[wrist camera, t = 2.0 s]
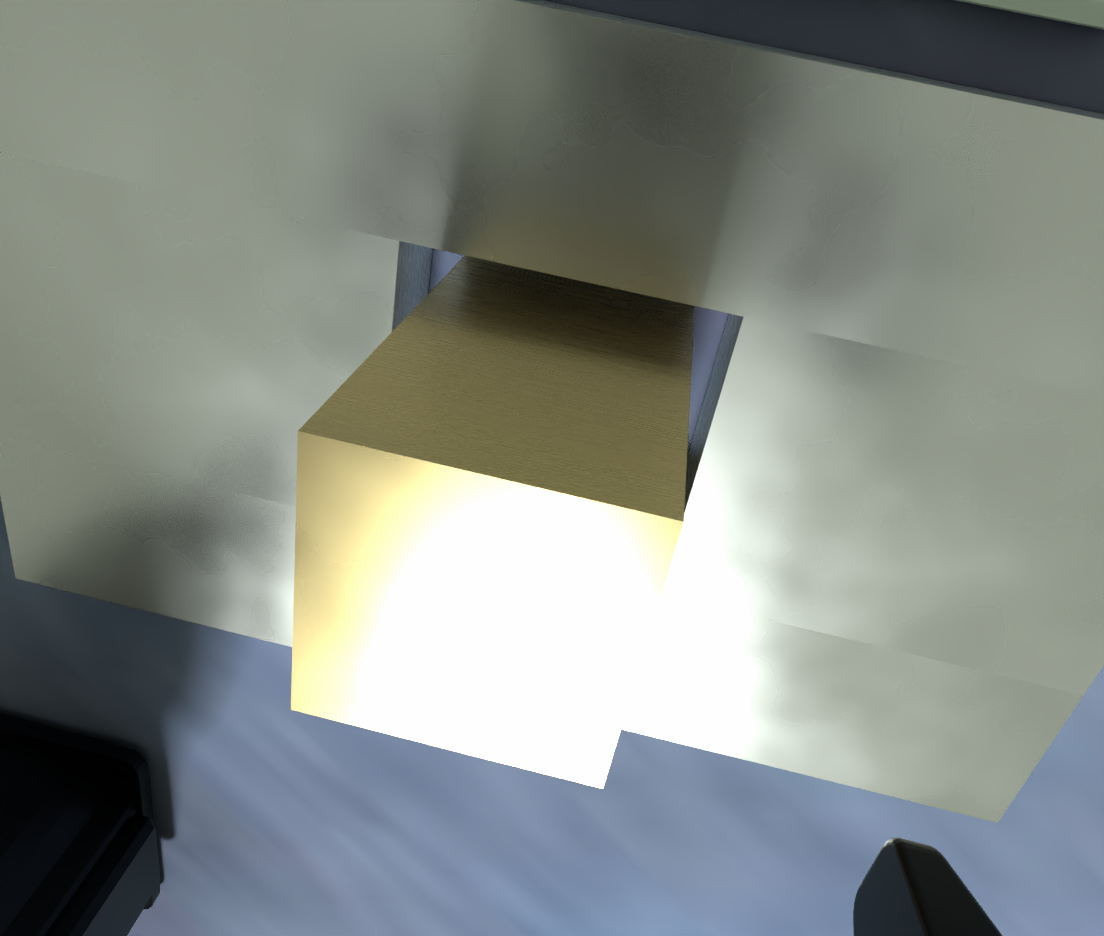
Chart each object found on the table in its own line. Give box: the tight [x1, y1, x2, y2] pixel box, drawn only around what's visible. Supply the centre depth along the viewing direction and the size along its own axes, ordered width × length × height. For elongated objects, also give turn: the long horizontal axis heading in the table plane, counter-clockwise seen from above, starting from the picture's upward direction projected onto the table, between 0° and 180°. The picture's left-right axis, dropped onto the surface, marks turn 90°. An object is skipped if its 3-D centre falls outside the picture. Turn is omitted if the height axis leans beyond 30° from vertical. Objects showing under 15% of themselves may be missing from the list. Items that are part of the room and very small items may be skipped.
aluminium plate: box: [0, 0, 1104, 823], centre depth 15 cm, size 20×12×2 cm, turn 80°
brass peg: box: [291, 255, 695, 789], centre depth 13 cm, size 4×4×7 cm
